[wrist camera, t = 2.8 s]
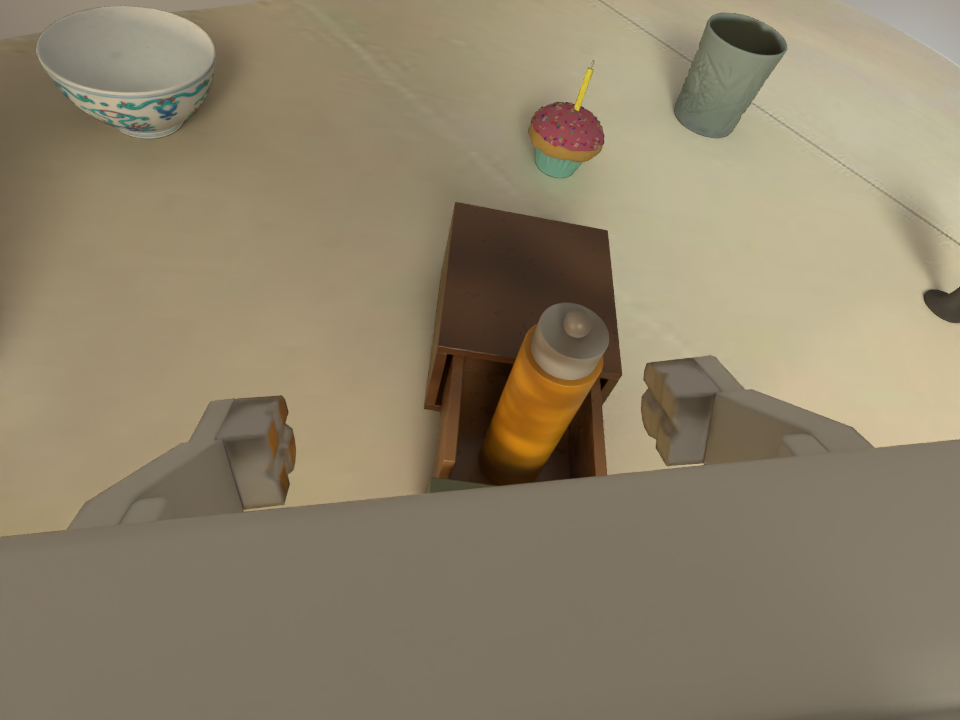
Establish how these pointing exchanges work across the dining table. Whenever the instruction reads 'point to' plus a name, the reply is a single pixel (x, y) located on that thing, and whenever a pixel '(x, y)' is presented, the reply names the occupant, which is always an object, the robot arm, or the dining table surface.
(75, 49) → the chinaware
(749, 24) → the green embossed cup
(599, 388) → the drawer
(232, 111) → the dining table surface
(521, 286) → the cabinet
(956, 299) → the sundae
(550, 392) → the pepper mill
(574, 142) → the cupcake
